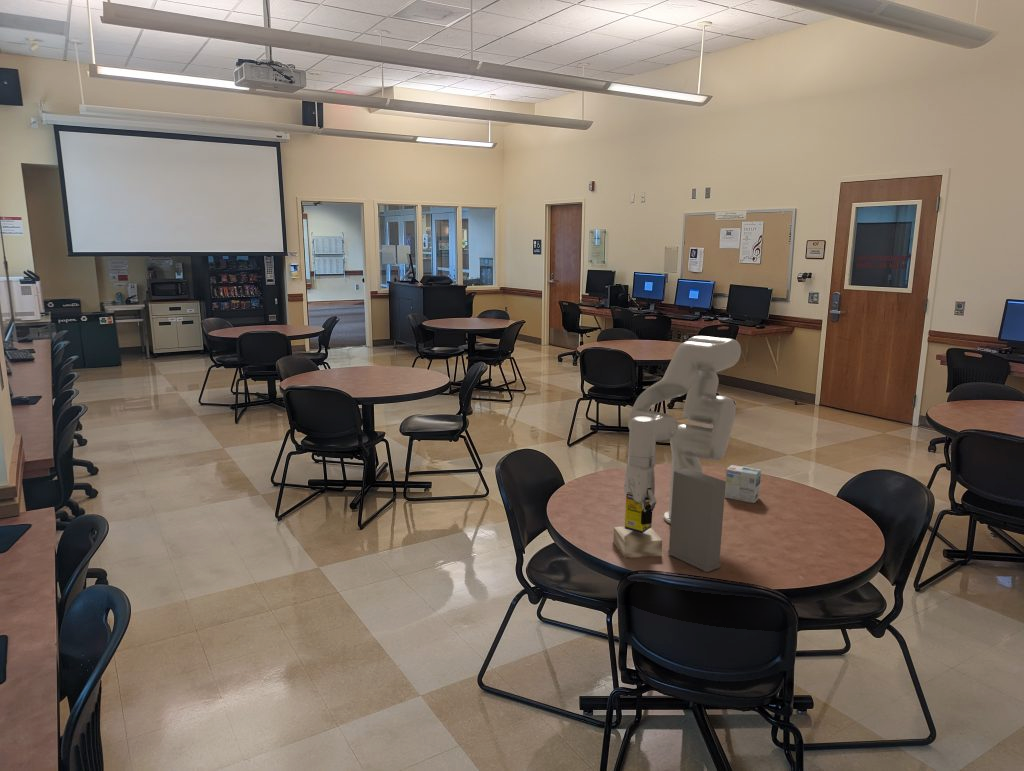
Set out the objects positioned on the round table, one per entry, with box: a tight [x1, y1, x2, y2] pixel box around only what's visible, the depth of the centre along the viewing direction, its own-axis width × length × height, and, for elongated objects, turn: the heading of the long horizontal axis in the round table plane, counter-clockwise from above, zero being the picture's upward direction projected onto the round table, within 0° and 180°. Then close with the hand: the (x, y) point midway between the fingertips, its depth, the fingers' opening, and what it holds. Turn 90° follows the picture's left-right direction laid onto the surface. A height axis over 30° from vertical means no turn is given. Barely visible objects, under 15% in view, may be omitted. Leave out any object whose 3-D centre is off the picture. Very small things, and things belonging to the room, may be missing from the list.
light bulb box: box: [724, 464, 762, 504], centre depth 243 cm, size 11×7×11 cm, turn 57°
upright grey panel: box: [667, 468, 726, 573], centre depth 192 cm, size 14×6×25 cm, turn 35°
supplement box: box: [624, 492, 653, 533], centre depth 199 cm, size 6×6×11 cm
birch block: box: [612, 525, 663, 558], centre depth 201 cm, size 11×11×5 cm
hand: (638, 517), depth 200 cm, fingers closed on supplement box, 8 cm apart
